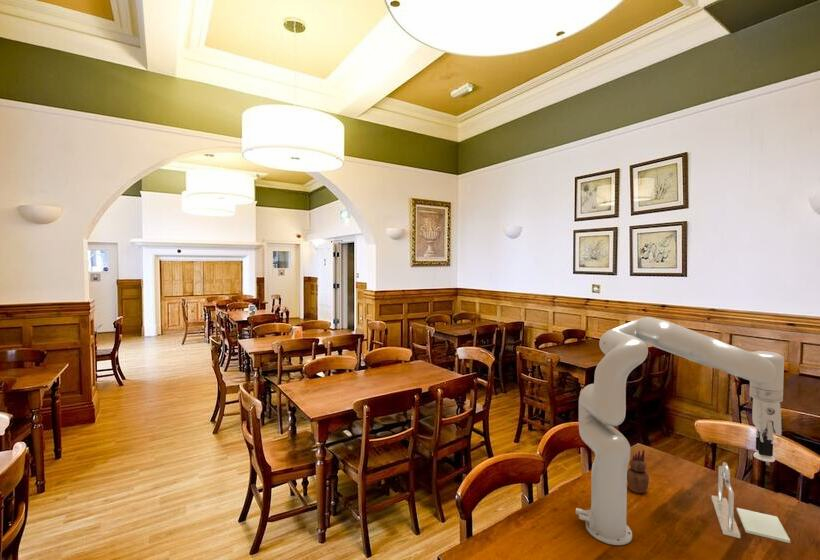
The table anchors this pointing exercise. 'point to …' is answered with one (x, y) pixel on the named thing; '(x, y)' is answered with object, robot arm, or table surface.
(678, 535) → the table surface
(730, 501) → the silver metal frame stand
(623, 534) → the robot arm
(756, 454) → the chess piece
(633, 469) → the wooden figurine
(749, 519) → the pad
